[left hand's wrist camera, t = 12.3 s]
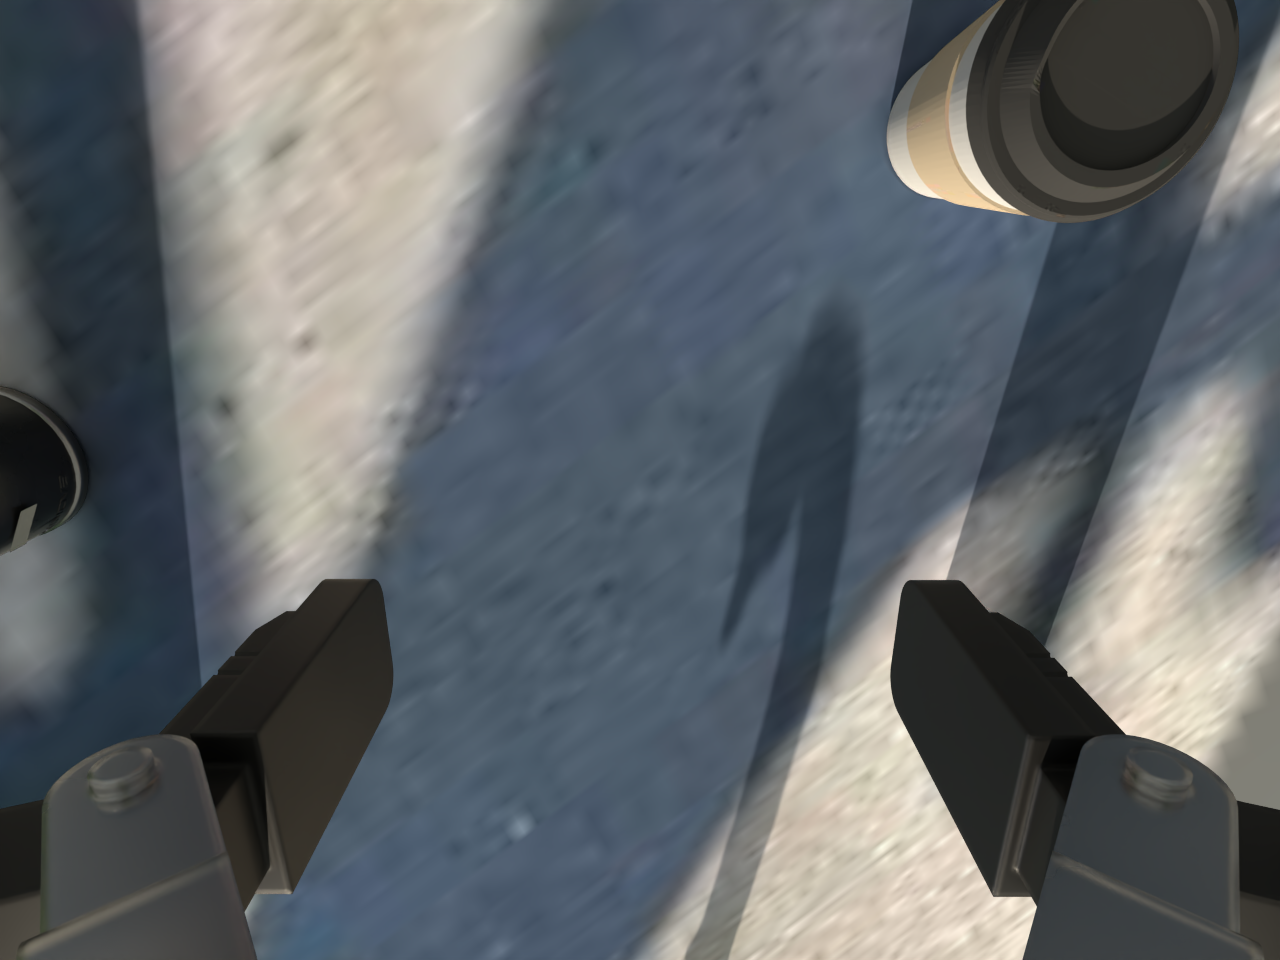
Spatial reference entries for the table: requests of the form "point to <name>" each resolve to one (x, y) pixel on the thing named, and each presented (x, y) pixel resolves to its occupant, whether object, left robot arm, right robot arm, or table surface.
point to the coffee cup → (1065, 105)
